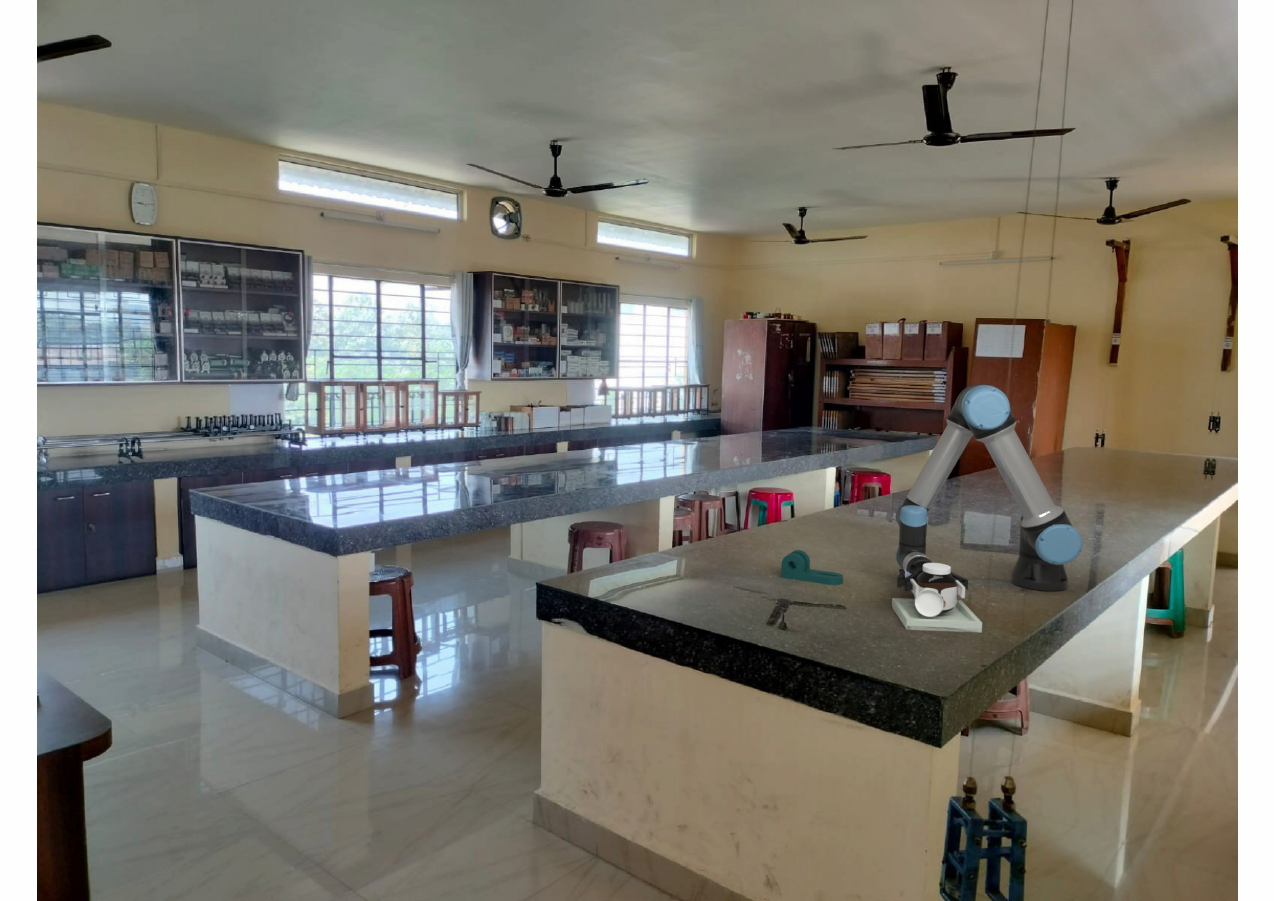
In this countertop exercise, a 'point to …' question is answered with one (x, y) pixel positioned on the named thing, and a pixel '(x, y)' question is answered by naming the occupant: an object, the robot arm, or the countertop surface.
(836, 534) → the countertop surface
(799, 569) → the bracket
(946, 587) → the spread jar
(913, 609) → the tray
